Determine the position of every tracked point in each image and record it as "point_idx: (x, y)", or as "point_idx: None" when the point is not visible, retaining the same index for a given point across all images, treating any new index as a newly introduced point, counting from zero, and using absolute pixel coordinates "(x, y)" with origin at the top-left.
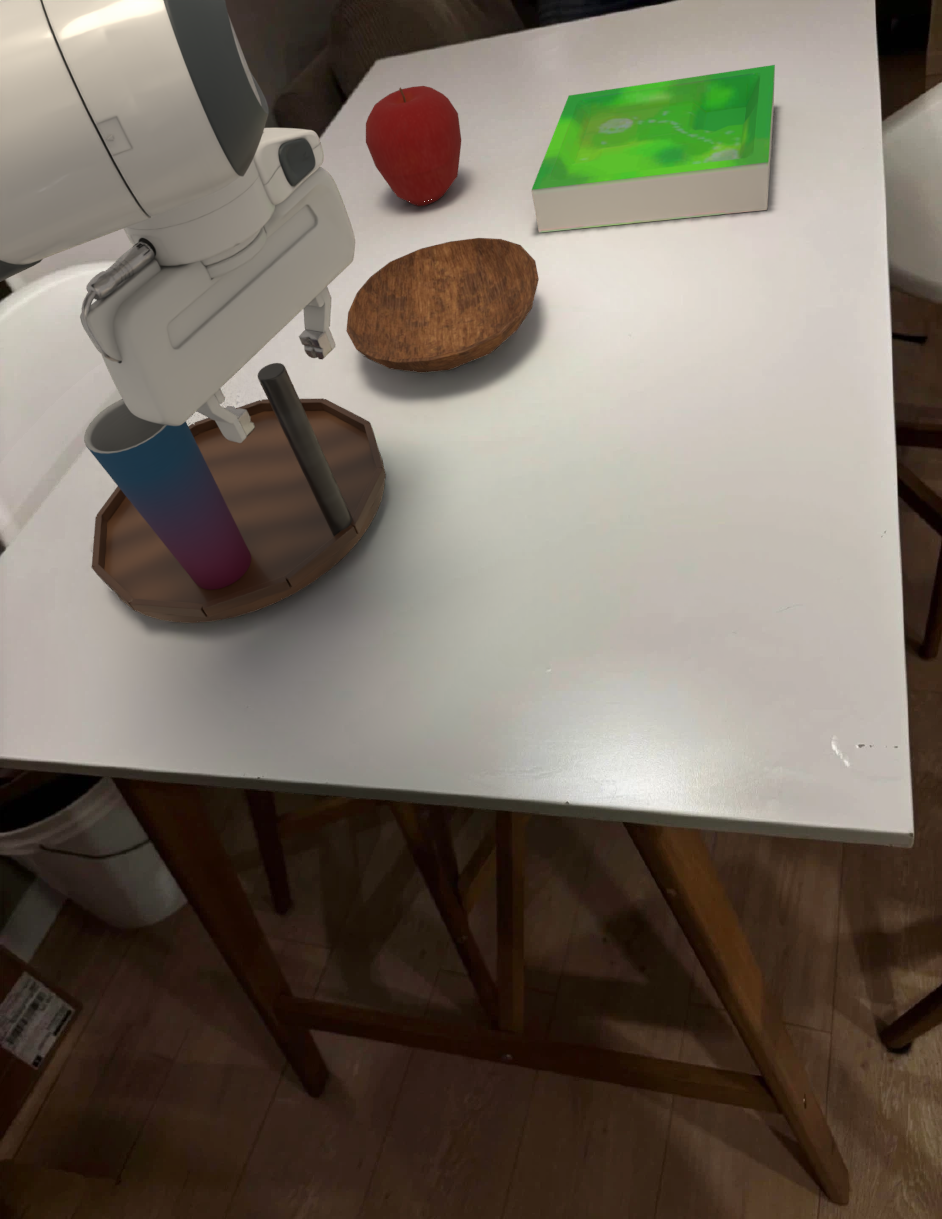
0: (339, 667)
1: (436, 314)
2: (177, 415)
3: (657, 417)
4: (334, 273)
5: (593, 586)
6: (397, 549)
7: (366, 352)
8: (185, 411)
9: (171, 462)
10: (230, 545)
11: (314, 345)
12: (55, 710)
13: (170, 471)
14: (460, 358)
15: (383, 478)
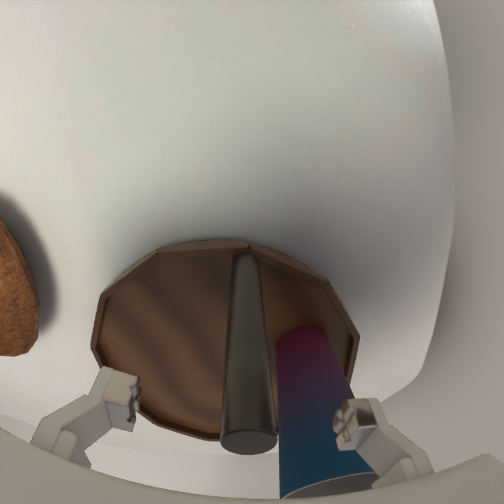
0: (375, 204)
1: None
2: (497, 463)
3: (45, 38)
4: (3, 440)
5: (255, 5)
6: (234, 204)
7: (36, 328)
8: (487, 464)
9: None
10: (316, 348)
11: (133, 402)
12: (396, 375)
13: None
14: (10, 236)
15: (165, 248)
